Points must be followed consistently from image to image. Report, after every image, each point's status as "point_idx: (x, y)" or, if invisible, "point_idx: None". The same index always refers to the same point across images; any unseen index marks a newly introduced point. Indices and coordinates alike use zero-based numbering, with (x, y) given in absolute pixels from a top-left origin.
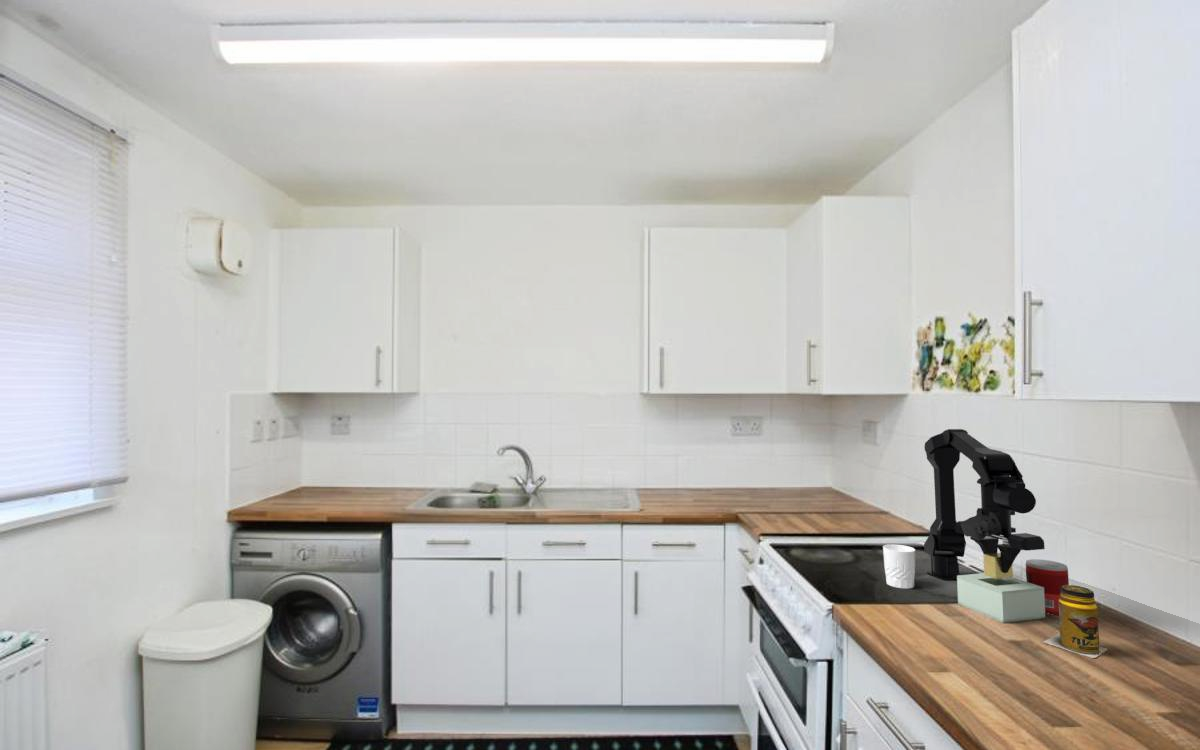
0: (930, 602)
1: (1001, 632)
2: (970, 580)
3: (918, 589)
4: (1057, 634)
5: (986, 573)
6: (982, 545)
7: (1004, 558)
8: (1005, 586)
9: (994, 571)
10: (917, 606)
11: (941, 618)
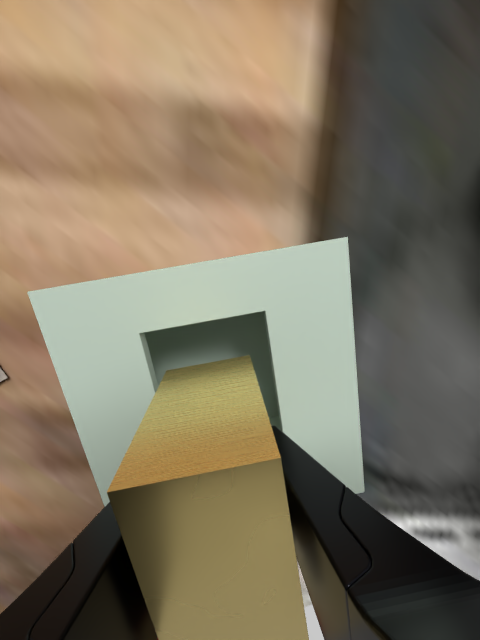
0: (329, 143)
1: (14, 202)
2: (248, 254)
3: (467, 202)
4: (3, 376)
5: (235, 363)
6: (406, 611)
7: (56, 564)
8: (129, 378)
9: (163, 390)
10: (293, 40)
11: (152, 48)
